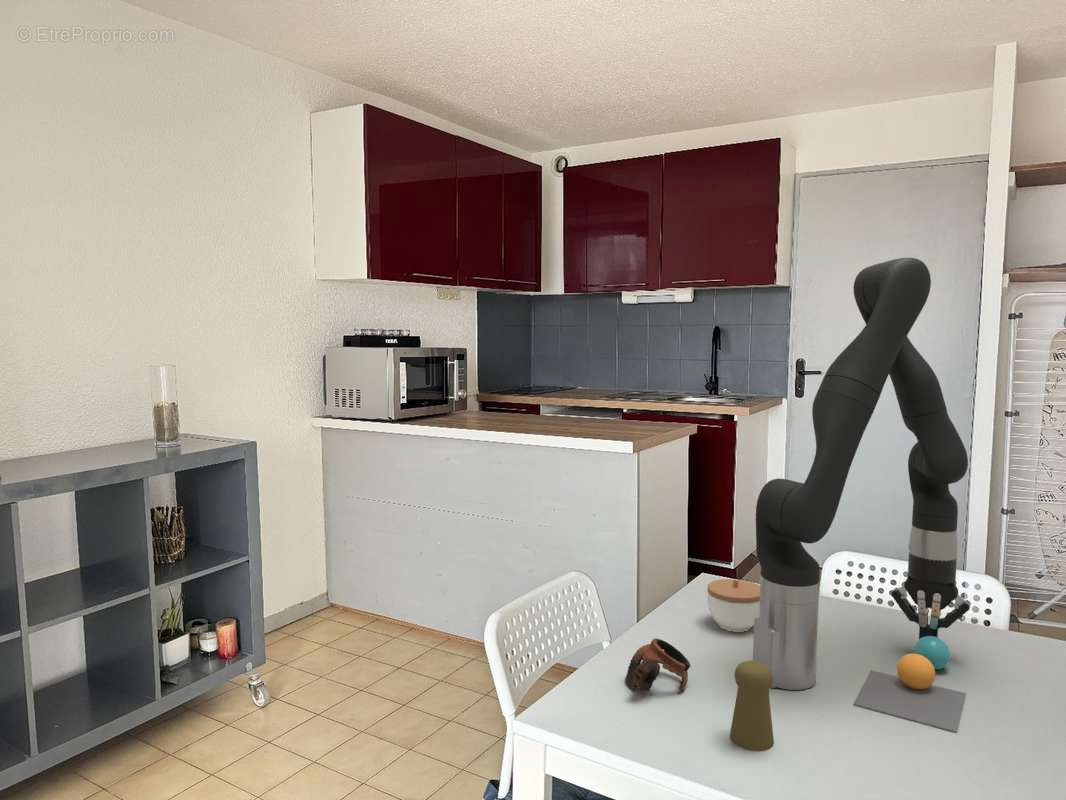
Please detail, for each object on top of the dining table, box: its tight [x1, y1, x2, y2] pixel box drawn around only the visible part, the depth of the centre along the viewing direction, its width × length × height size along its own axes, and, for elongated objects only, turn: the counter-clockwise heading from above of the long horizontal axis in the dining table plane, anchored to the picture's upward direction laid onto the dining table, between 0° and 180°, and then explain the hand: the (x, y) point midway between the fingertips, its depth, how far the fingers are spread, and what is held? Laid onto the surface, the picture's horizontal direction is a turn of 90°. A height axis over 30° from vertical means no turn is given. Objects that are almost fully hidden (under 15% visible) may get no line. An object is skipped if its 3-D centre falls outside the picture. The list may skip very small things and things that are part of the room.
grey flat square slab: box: [853, 670, 967, 734], centre depth 117 cm, size 14×14×1 cm
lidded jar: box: [707, 578, 760, 633], centre depth 145 cm, size 11×11×9 cm
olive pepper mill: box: [729, 660, 775, 752], centre depth 105 cm, size 6×6×11 cm
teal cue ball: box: [913, 636, 951, 671], centre depth 127 cm, size 6×6×6 cm
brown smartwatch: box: [625, 638, 691, 693], centre depth 120 cm, size 12×10×8 cm
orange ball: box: [896, 653, 936, 690], centre depth 120 cm, size 6×6×6 cm
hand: (927, 646), depth 133 cm, fingers closed
